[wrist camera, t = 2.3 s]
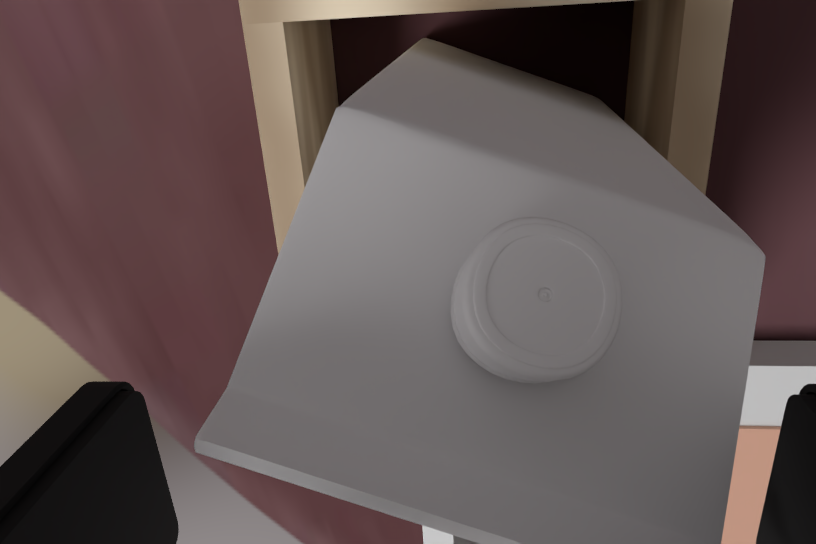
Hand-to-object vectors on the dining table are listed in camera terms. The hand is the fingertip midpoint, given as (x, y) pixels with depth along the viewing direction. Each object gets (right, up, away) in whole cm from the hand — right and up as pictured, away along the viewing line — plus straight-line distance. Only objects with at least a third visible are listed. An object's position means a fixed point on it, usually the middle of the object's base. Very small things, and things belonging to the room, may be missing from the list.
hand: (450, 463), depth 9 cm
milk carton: (+2, +8, +16) cm, 18 cm away
